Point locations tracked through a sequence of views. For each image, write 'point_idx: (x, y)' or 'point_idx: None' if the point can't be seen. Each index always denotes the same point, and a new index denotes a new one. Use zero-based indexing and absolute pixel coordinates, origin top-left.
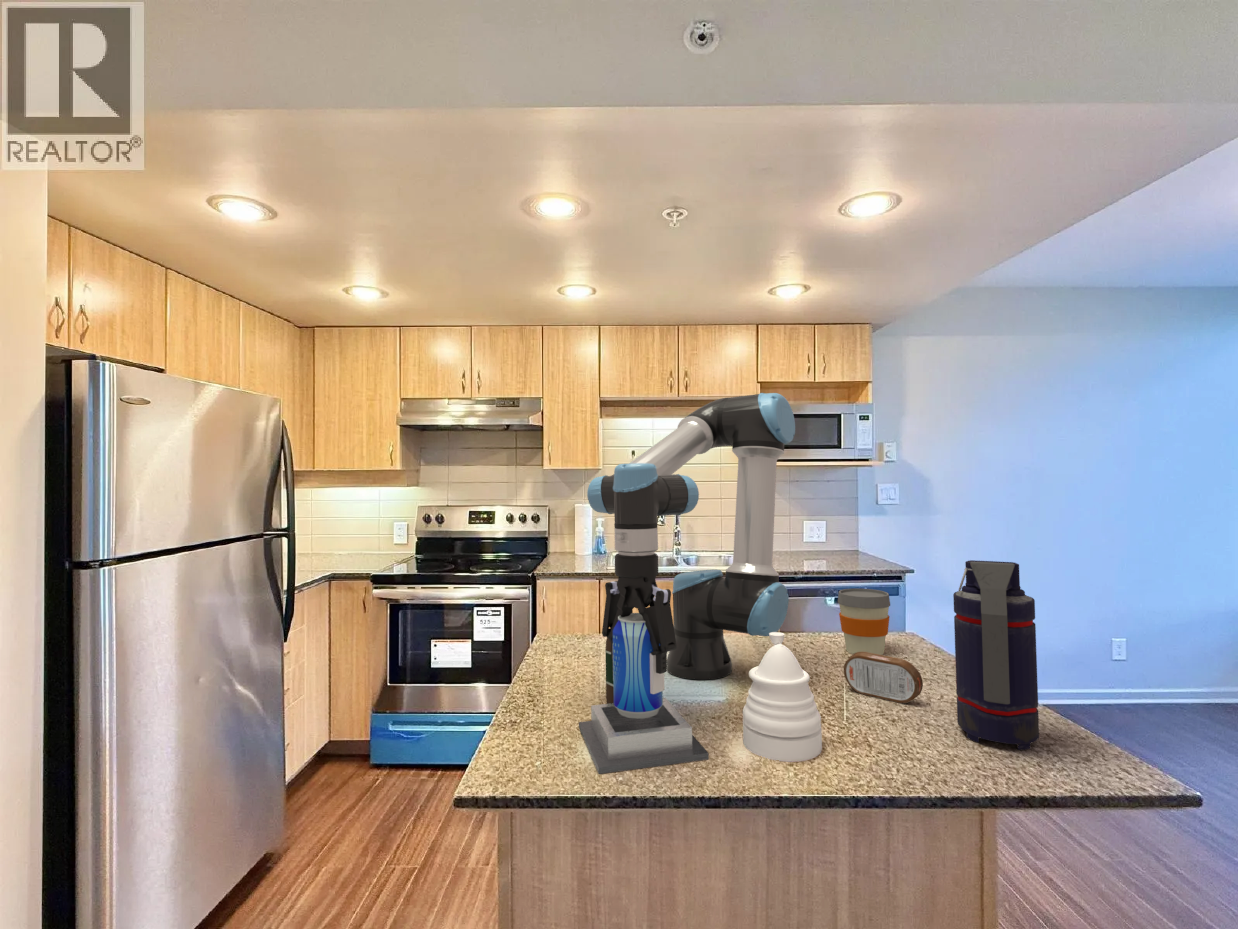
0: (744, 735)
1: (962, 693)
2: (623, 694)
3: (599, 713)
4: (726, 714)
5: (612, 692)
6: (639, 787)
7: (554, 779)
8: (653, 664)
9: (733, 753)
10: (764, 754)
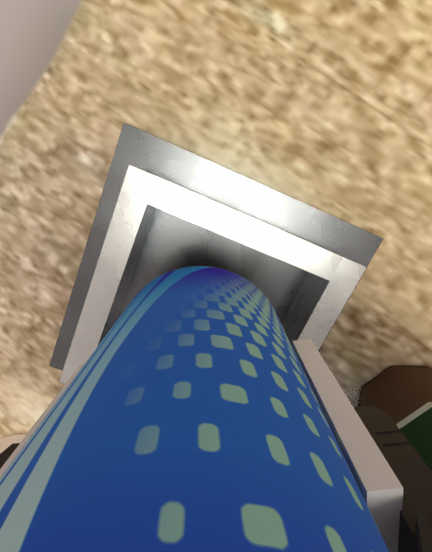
0: None
1: None
2: (167, 287)
3: (296, 250)
4: None
5: (426, 390)
6: (26, 167)
7: (170, 9)
8: (3, 466)
9: None
10: (4, 441)
